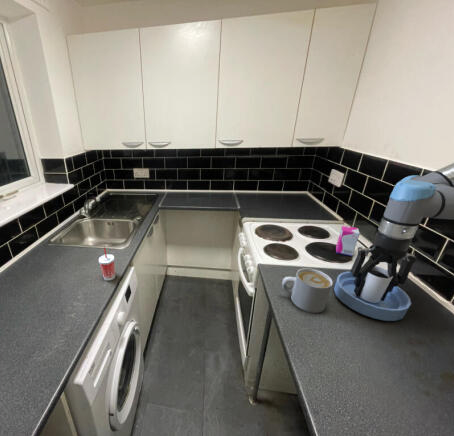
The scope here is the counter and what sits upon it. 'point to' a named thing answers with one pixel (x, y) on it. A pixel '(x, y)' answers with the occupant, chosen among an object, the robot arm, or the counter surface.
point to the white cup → (375, 284)
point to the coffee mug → (309, 289)
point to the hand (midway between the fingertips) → (368, 295)
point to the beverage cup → (107, 266)
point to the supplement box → (347, 240)
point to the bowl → (383, 310)
